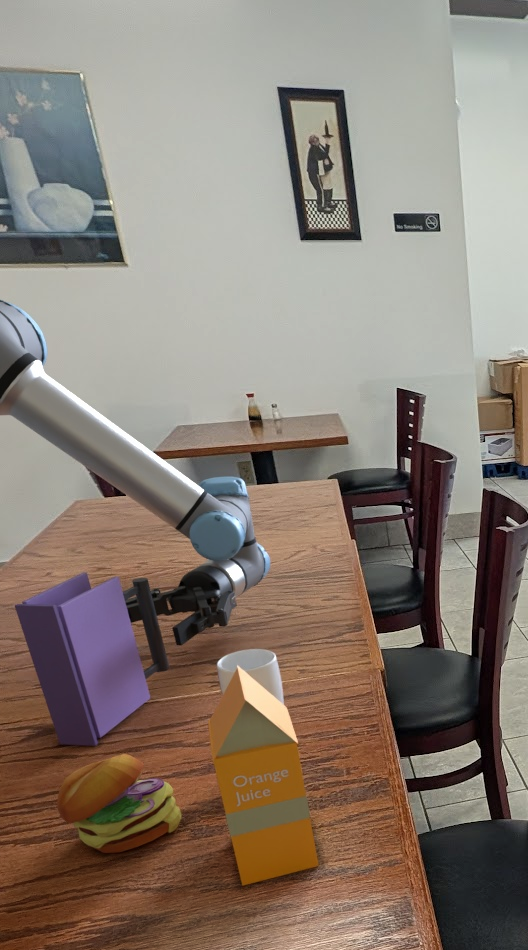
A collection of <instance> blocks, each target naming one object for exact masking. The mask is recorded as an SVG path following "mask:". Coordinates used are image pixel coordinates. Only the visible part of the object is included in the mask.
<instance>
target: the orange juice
mask: <svg viewBox="0 0 528 950" xmlns="http://www.w3.org/2000/svg"><path fill="white" fill-rule="evenodd" d="M207 722H208V723H207V728H208V736H209V743H210V750H211V751H210V753H211V760H212V763H213V765H214V770H215V771H214V772H215V779H216V782H217V783H218V787H219V792H220V796H221V800H222V804H223V809H224V814H225V819H226V823H227V828H228V832H229V836H230V838H231V843H232V847H233V851H234V856H235V860H236V864H237V869H238V873H239V877H240V881H241V886H242V887H243V886H248V885H250V884H254V883H259V882H262V881H265V880H270V879H273V878H278V877H281V876H285V875H289V874H293V873H296V872H297V873H298V872H300V871H304V870H305V871H306V870H309V869H312V868H316V867H319V865H320V864H319V859H318V853H317V849H316V842H315V837H314V831H313V828H312V827H313V826H312V821H311V813H310V809H309V808H310V807H309V802H308V796H307V791H306V787H305V781H304V775H303V773H304V772H303V768H302V764H301V756H300V752H299V751H300V750H299V748H298V744H299V741H298V738H297V734H296V732H295V727H294V726H293V722H292V719H291V716H290V713H289V710H288V707H287V706H286V705H285V704H284V705H283V704H282V703H281V702H280V701H279V700H277V699H276V698H275V697H274V696H273V695H272V694H270V693H269V692H268V691H267V690H266V689H265V688H264V687H262V686H261V685H260V684H259V683H258V682H257V681H255V680H254V679H253V678H252V677H251V676H250V675H248V674H247V673H246V672H245V671H244V670H243V669H241V668H240V667H239V666H238V665H237V669H236V671H235V673H234V675H233V677H232V679H231V681H230V683H229V684H228V686H227V688H226V690H225V692H224V694H223V696H221V698H220V700H219V702H218V704H217V705H216V707H215V709H214V711H213V713H212V715H211V717H210V719H209V720H207Z"/></svg>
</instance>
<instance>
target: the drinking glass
mask: <svg viewBox="0 0 528 950" xmlns="http://www.w3.org/2000/svg"><path fill="white" fill-rule="evenodd" d="M237 665H238V666H239V667H240V668H241V669H243V670H244V671H245V672H246V673H247V674H248V675H250V676H251V677H252V678H253V679H254V680H255V681H257V682H258V683H259V684H260V685H261V686H262V687H264V688H265V689H266V690H267V691H268V692H269V693H270V694H272V695H273V696H274V697H275V698H276V699H277V700H279V701H280V702H281V703H282V704H283V705H284V706H285V698H284V689H283V681H282V675H281V671H280V666H279V662H278V659H277V655H276V653H275V652H273V651H271V650H268V649H263V648H251V649H249V648H248V649H243V650H238V651H234V652H231V653H228V654H226V655H224V656H223V657H221V658H220V659H218V660H217V662H216V670H217V676H218V677H217V678H218V682H219V688H220V691H221V695H222V696H223V694H224V692H225V690H226V688H227V686H228V684H229V683H230V681H231V679H232V677H233V675H234V673H235V671H236V669H237ZM222 696H221V697H222Z"/></svg>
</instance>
